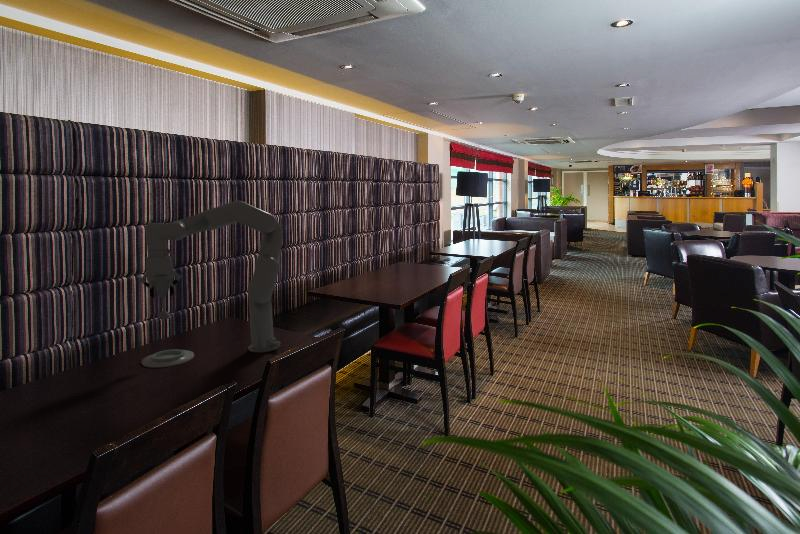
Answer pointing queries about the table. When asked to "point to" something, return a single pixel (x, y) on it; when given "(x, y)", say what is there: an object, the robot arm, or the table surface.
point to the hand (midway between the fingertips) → (162, 296)
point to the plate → (158, 365)
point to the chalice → (162, 293)
